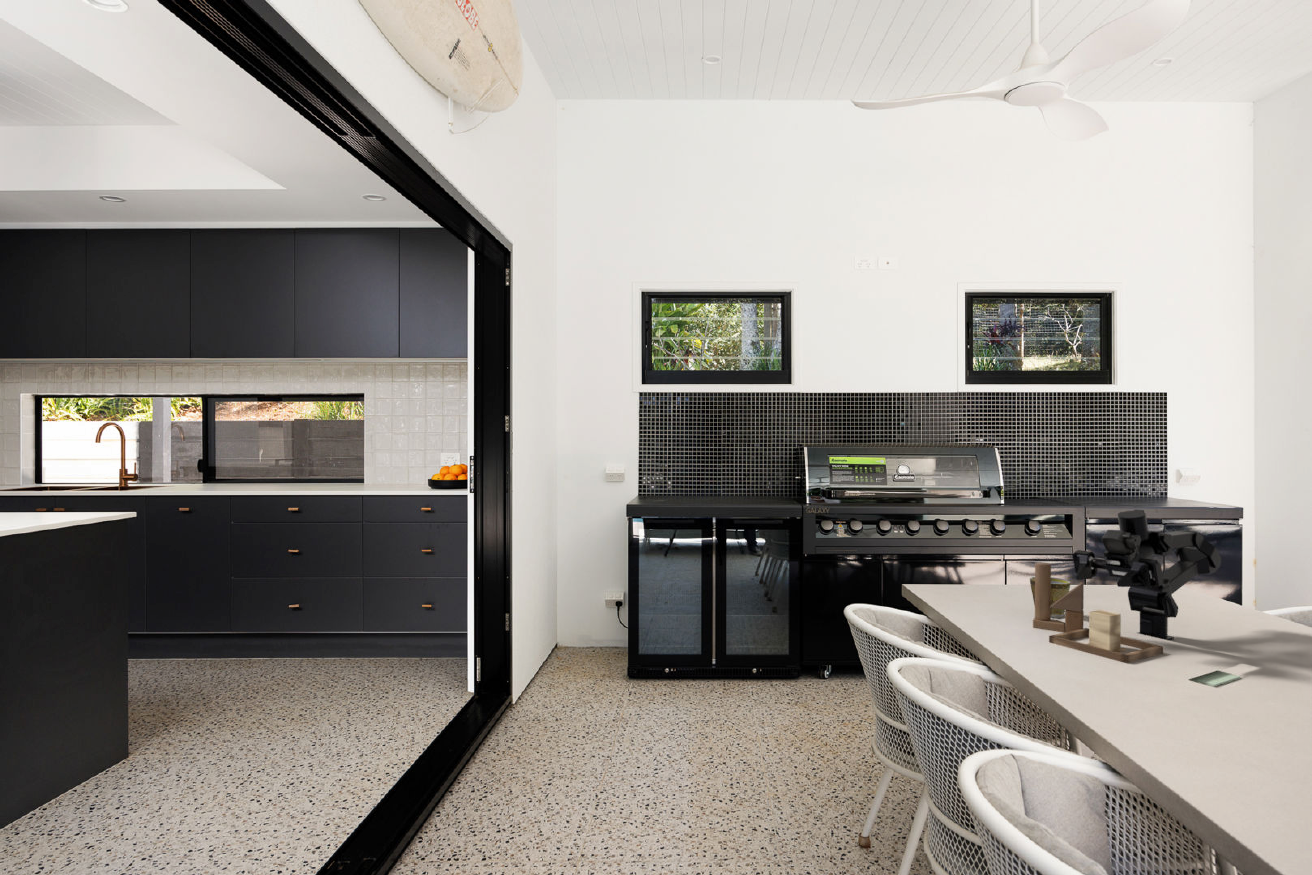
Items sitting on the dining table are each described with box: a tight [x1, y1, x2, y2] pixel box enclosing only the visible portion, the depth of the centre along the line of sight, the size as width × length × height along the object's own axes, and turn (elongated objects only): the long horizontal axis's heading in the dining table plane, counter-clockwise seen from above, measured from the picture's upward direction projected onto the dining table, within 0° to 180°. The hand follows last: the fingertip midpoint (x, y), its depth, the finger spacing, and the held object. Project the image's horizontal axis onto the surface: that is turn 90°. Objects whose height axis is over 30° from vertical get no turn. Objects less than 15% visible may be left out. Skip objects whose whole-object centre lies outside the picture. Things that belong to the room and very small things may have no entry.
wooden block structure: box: [1032, 561, 1085, 633], centre depth 175 cm, size 4×11×18 cm, turn 52°
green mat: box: [1187, 670, 1241, 688], centre depth 146 cm, size 11×11×1 cm
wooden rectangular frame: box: [1048, 627, 1164, 664], centre depth 160 cm, size 15×17×3 cm
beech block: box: [1088, 609, 1122, 651], centre depth 160 cm, size 4×4×8 cm
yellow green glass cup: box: [1029, 576, 1071, 619], centre depth 197 cm, size 13×10×10 cm
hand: (1096, 581), depth 161 cm, fingers open, 9 cm apart
